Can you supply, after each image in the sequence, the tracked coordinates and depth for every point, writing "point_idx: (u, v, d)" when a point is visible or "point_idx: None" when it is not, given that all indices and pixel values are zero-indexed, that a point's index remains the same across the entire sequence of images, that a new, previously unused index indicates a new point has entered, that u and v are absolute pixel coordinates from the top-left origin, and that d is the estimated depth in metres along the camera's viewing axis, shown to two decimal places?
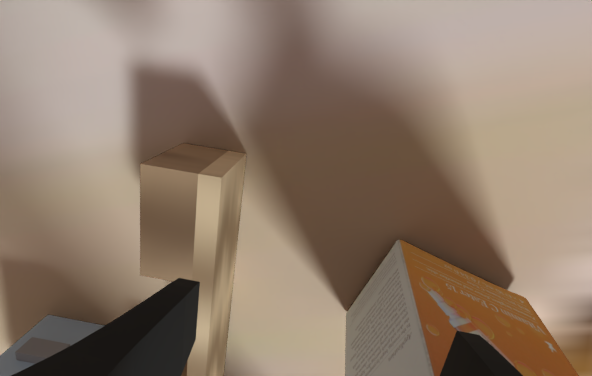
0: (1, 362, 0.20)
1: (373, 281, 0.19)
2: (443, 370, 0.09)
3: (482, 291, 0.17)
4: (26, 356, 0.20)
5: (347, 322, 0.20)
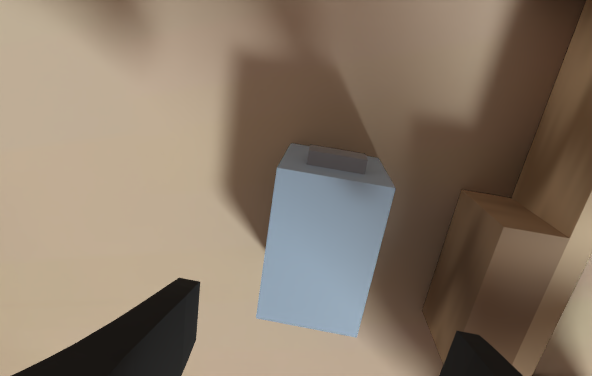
0: (290, 163, 0.14)
1: None
2: (443, 370, 0.09)
3: None
4: (323, 157, 0.14)
5: None
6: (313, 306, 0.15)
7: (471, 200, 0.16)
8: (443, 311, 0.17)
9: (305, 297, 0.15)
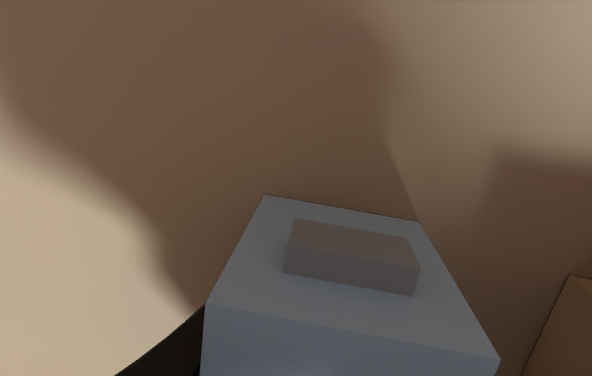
0: (246, 275, 0.06)
1: None
2: None
3: None
4: (321, 259, 0.06)
5: None
6: None
7: None
8: None
9: None
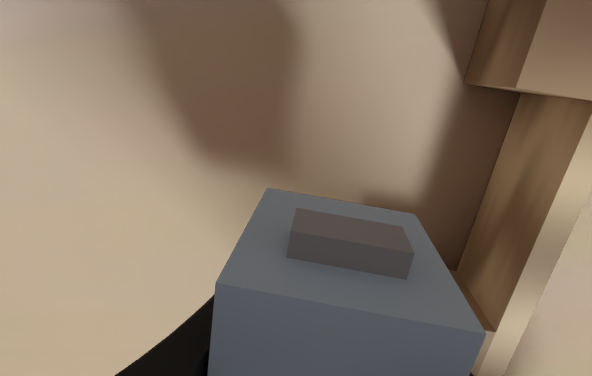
0: (252, 259, 0.07)
1: None
2: None
3: None
4: (322, 245, 0.07)
5: None
6: None
7: None
8: None
9: None
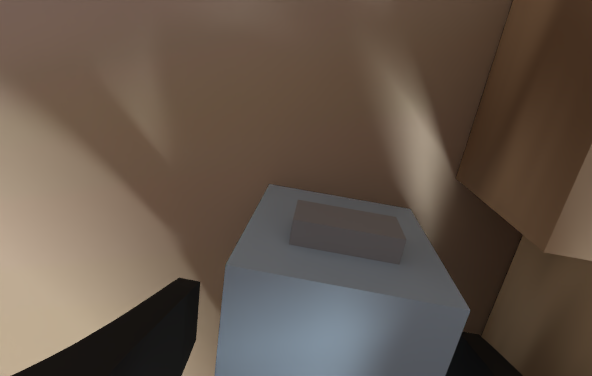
0: (258, 245, 0.07)
1: None
2: None
3: None
4: (321, 232, 0.07)
5: None
6: None
7: None
8: None
9: None
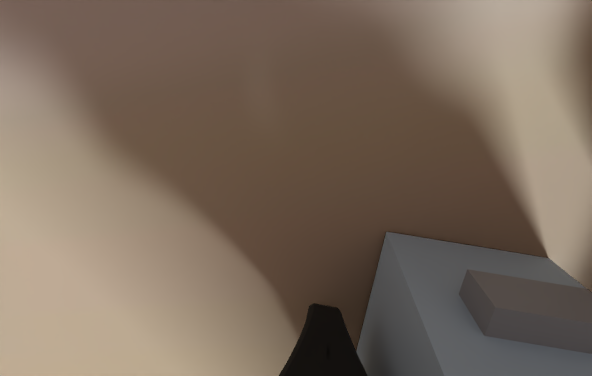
0: (455, 342, 0.06)
1: None
2: None
3: None
4: (530, 322, 0.06)
5: None
6: None
7: None
8: None
9: None
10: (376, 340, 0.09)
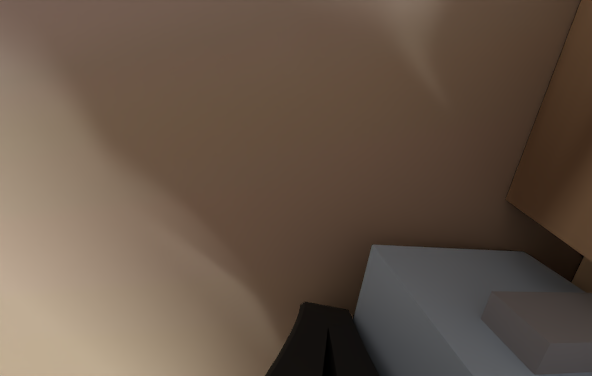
0: None
1: None
2: None
3: None
4: (579, 351, 0.05)
5: None
6: None
7: None
8: None
9: None
10: None
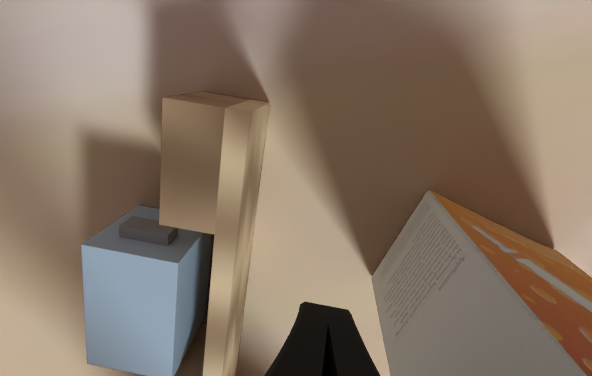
0: (102, 237, 0.16)
1: (403, 235, 0.18)
2: None
3: (518, 237, 0.17)
4: (132, 231, 0.16)
5: (375, 283, 0.19)
6: (132, 355, 0.17)
7: None
8: None
9: (124, 348, 0.17)
10: None
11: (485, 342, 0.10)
